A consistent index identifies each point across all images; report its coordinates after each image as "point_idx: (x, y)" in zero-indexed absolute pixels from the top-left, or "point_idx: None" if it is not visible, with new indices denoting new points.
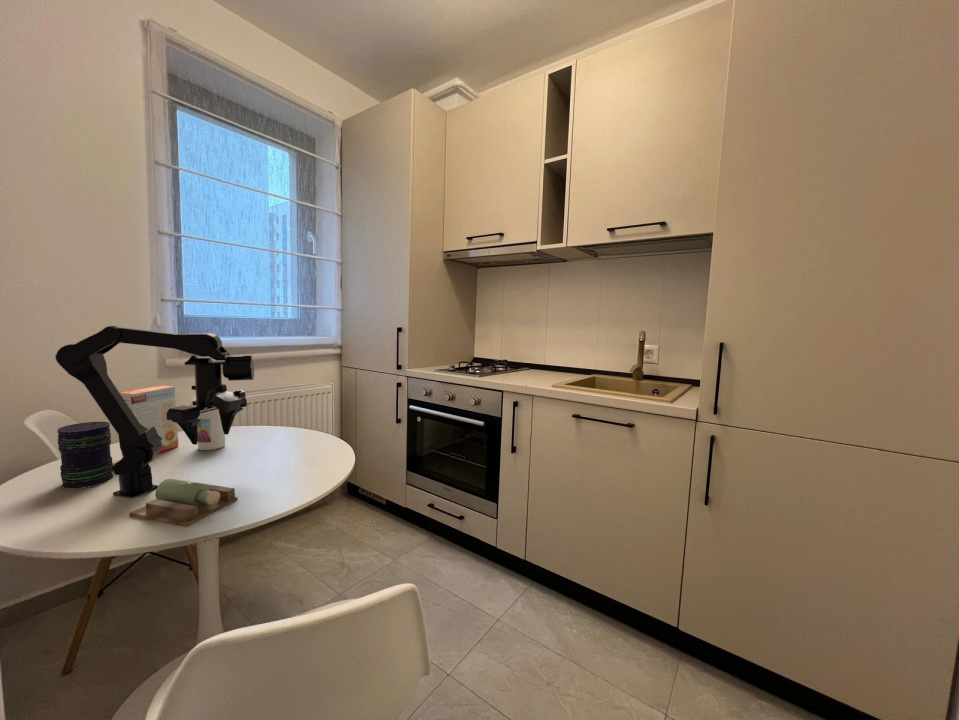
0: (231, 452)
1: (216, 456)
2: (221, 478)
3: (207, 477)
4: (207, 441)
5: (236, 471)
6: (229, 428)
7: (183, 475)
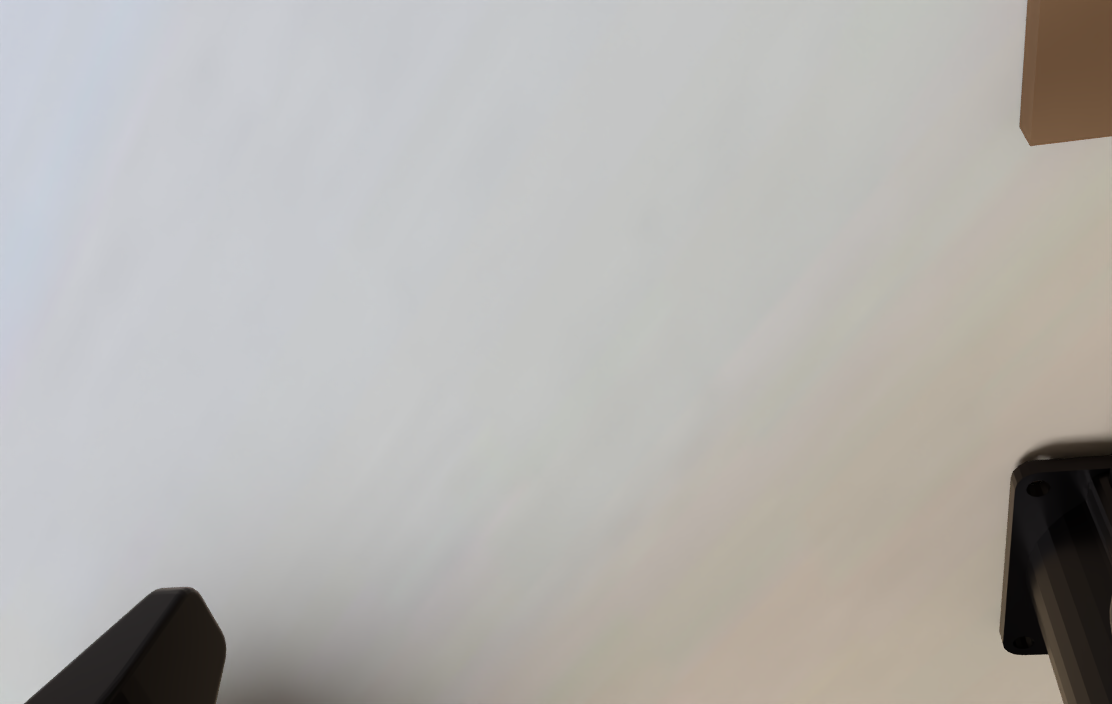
0: (84, 633)
1: (227, 656)
2: (524, 127)
3: (591, 298)
4: None
5: (286, 170)
6: (56, 701)
7: (675, 530)
